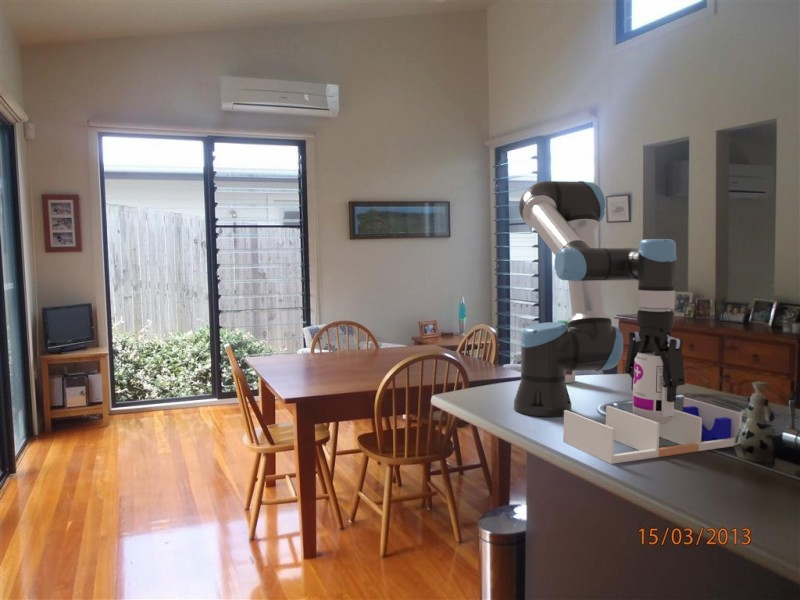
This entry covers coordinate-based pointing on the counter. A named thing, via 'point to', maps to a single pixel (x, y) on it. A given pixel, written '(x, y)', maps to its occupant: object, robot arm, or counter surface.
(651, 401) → the supplement can
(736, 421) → the can rack
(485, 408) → the counter surface
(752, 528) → the counter surface
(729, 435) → the blue notched cradle block
